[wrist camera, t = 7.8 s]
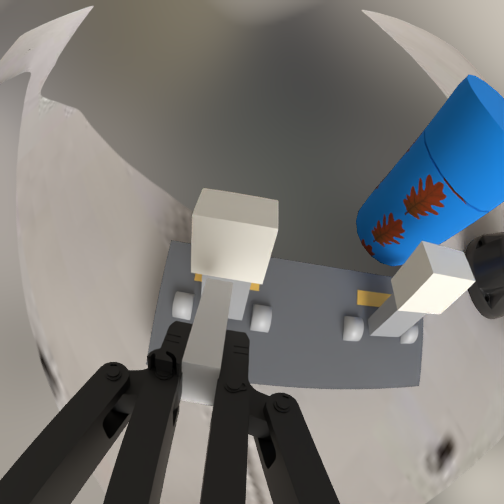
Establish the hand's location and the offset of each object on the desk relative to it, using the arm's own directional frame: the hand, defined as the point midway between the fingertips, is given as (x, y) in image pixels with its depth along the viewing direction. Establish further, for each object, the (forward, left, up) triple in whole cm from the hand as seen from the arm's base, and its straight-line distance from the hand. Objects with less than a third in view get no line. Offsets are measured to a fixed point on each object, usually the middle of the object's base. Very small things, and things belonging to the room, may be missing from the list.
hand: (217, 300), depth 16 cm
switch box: (-8, -1, -15) cm, 17 cm away
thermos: (-21, -16, -15) cm, 30 cm away
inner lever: (-16, -1, -9) cm, 19 cm away
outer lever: (0, -1, -9) cm, 9 cm away
